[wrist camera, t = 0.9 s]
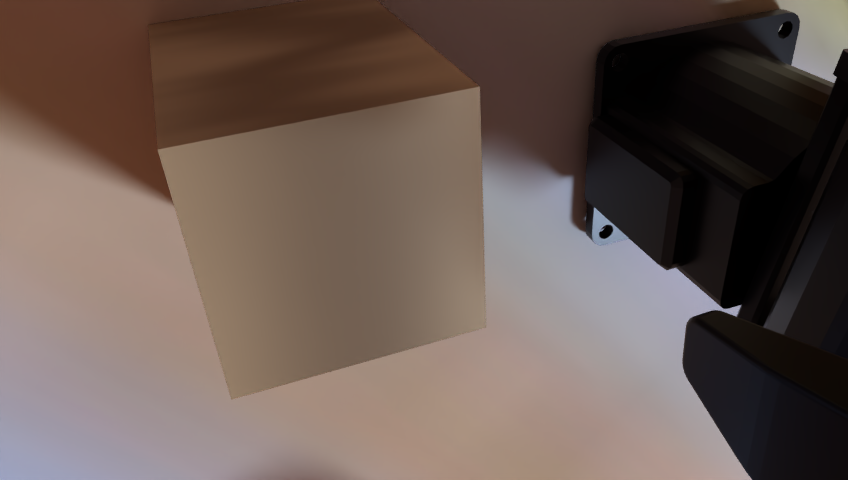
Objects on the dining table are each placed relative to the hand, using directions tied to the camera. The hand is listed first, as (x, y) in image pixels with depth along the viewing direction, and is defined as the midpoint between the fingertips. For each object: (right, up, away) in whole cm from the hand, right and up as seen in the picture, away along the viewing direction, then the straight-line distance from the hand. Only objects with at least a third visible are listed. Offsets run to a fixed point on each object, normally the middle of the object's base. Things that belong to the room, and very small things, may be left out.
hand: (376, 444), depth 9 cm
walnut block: (-3, +6, +9) cm, 11 cm away
